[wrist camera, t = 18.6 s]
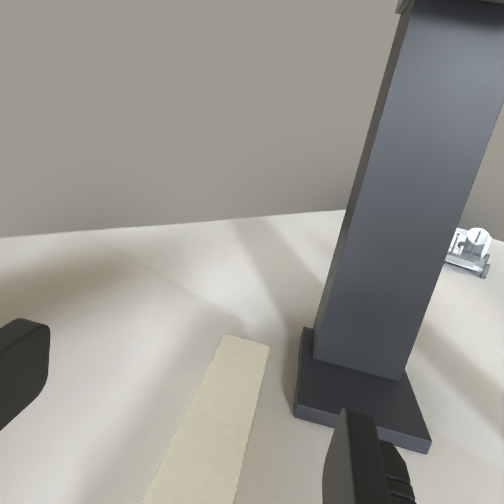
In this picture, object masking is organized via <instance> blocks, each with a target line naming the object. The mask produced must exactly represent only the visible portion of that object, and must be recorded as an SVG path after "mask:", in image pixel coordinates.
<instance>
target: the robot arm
mask: <svg viewBox="0 0 504 504" xmlns="http://www.w3.org/2000/svg"><path fill="white" fill-rule="evenodd" d="M49 348H50V329H49V327H48V326H47V325H44V324H40V323H37V322H33V321H29V320H26V319H22V318H18V319H15V320H13V321H12V322H10V323H8V324H7V325H5V326H3V327H2V328H0V431H1V430H2V429H3V428H4V427H5V426H6V425H7V424H8V423H9V422H10V421H11V420H13V419H14V418H15V417H16V416H17V415H18V414H19V413H20V412H21V411H22V410H23V409H25V408H26V407H27V406H28V405H29V404H30V403H31V402H32V401H33V400H34V399H35V398H36V397H37V396H38V395H39V394H40V392H41V391H42V389H43V387H44V385H45V383H46V380H47V377H48V365H49ZM322 498H323V504H417V503H415V496H414V492H413V489H412V486H411V485H410V478H409V474H408V471H407V467H406V463H405V461H404V460H403V458H402V457H401V455H400V454H399V452H398V451H397V450H396V448H395V447H394V445H393V444H392V443H390V442H387V441H383V440H379V438H378V433H377V428H376V423H375V419H374V416H373V415H369V414H365V413H362V412H358V411H354V410H351V409H347V408H342V410H341V412H340V415H339V418H338V421H337V424H336V427H335V430H334V433H333V436H332V439H331V442H330V445H329V449H328V452H327V455H326V459H325V463H324V469H323V478H322Z"/></svg>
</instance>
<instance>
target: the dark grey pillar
mask: <svg viewBox="0 0 504 504" xmlns="http://www.w3.org/2000/svg"><path fill="white" fill-rule="evenodd" d="M395 13H397V14H401V16H400V20H399V23H398V27H397V30H396V34H395V37H394V41H393V45H392V48H391V52H390V55H389V59H388V63H387V66H386V70H385V73H384V77H383V80H382V84H381V87H380V91H379V95H378V98H377V102H376V105H375V109H374V112H373V116H372V120H371V123H370V127H369V130H368V134H367V138H366V141H365V145H364V148H363V152H362V155H361V159H360V163H359V166H358V169H357V174H356V177H355V180H354V184H353V187H352V191H351V195H350V198H349V202H348V205H347V209H346V212H345V216H344V219H343V223H342V227H341V230H340V234H339V237H338V241H337V244H336V248H335V252H334V255H333V259H332V262H331V266H330V269H329V273H328V277H327V280H326V284H325V287H324V291H323V294H322V298H321V302H320V305H319V309H318V312H317V316H316V319H315V323H314V327H313V329H310V328H307V327H303V330H302V334H301V341H300V352H299V363H298V374H297V385H296V396H295V406H294V417H297V418H300V419H304V420H307V421H311V422H314V423H318V424H321V425H325V426H328V427H332V428H335V427H336V424H337V421H338V418H339V415H340V412H341V410H342V408H347V409H351V410H354V411H358V412H362V413H365V414H369V415H373V416H374V419H375V423H376V428H377V433H378V438H379V440H383V441H387V442H390V443H392V444H393V445H395V446H399V447H402V448H406V449H409V450H413V451H417V452H420V453H424V454H427V452H428V450H429V448H430V445H431V443H432V441H431V438H430V435H429V433H428V430H427V427H426V425H425V422H424V419H423V417H422V414H421V411H420V408H419V406H418V403H417V400H416V398H415V395H414V392H413V390H412V387H411V384H410V382H409V379H408V376H407V374H406V371H405V366H406V364H407V361H408V358H409V355H410V353H411V350H412V347H413V345H414V342H415V339H416V337H417V334H418V331H419V328H420V326H421V323H422V320H423V318H424V315H425V312H426V310H427V307H428V304H429V301H430V299H431V296H432V293H433V291H434V288H435V285H436V283H437V280H438V277H439V274H440V272H441V269H442V266H443V264H444V261H445V258H446V256H447V253H448V250H449V247H450V245H451V242H452V239H453V237H454V234H455V231H456V229H457V226H458V223H459V220H460V218H461V215H462V212H463V209H464V207H465V204H466V201H467V199H468V196H469V193H470V191H471V188H472V185H473V183H474V180H475V177H476V174H477V172H478V169H479V166H480V164H481V161H482V158H483V156H484V153H485V150H486V148H487V145H488V142H489V140H490V137H491V134H492V131H493V129H494V126H495V123H496V121H497V118H498V115H499V113H500V110H501V107H502V104H503V102H504V0H399V1H398V4H397V8H396V11H395Z"/></svg>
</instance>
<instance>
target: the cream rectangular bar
mask: <svg viewBox="0 0 504 504" xmlns="http://www.w3.org/2000/svg"><path fill="white" fill-rule="evenodd" d="M270 347H271V346H270V345H266V344H262V343H258V342H255V341H251V340H247V339H244V338H240V337H236V336H232V335H229V334H224V336H223V338H222V340H221V342H220V344H219V346H218V348H217V350H216V352H215V354H214V356H213V358H212V360H211V362H210V364H209V366H208V368H207V370H206V372H205V374H204V376H203V378H202V380H201V382H200V384H199V387H198V389H197V391H196V393H195V395H194V397H193V399H192V401H191V403H190V405H189V407H188V409H187V411H186V413H185V415H184V417H183V419H182V421H181V423H180V425H179V427H178V429H177V431H176V433H175V435H174V437H173V439H172V441H171V443H170V445H169V448H168V450H167V452H166V454H165V456H164V458H163V460H162V462H161V464H160V466H159V468H158V470H157V472H156V474H155V476H154V478H153V480H152V482H151V484H150V486H149V488H148V490H147V492H146V494H145V496H144V498H143V500H142V502H141V504H233V502H234V498H235V494H236V490H237V485H238V481H239V477H240V473H241V469H242V464H243V460H244V456H245V452H246V448H247V443H248V439H249V435H250V431H251V427H252V422H253V418H254V414H255V410H256V406H257V401H258V397H259V393H260V389H261V385H262V380H263V376H264V372H265V368H266V364H267V359H268V355H269V351H270Z"/></svg>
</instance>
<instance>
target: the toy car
mask: <svg viewBox="0 0 504 504" xmlns="http://www.w3.org/2000/svg"><path fill="white" fill-rule="evenodd" d="M491 240H492V237H490V236H489V234H488V232H487V231H486V230H484V229H482V228H473V229H470V230H469V231H468V230H464V229H461V228H457V229H456V231H455V234H454V237H453V239H452V242H451V245H450V247H449V250H448V253H447V256H446V258H445V261H446V262H449V263H453V264H456V265H459V266H462V267H465V268H469V269H472V270H475V271H478V272H481V276H480V277H481V278H485V277H486V275H487V273H488V270H489V267H490V265H489V264H487V261H488V259H489V254H486V253H487V250H488V248H489V245H490V243H491Z"/></svg>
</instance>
